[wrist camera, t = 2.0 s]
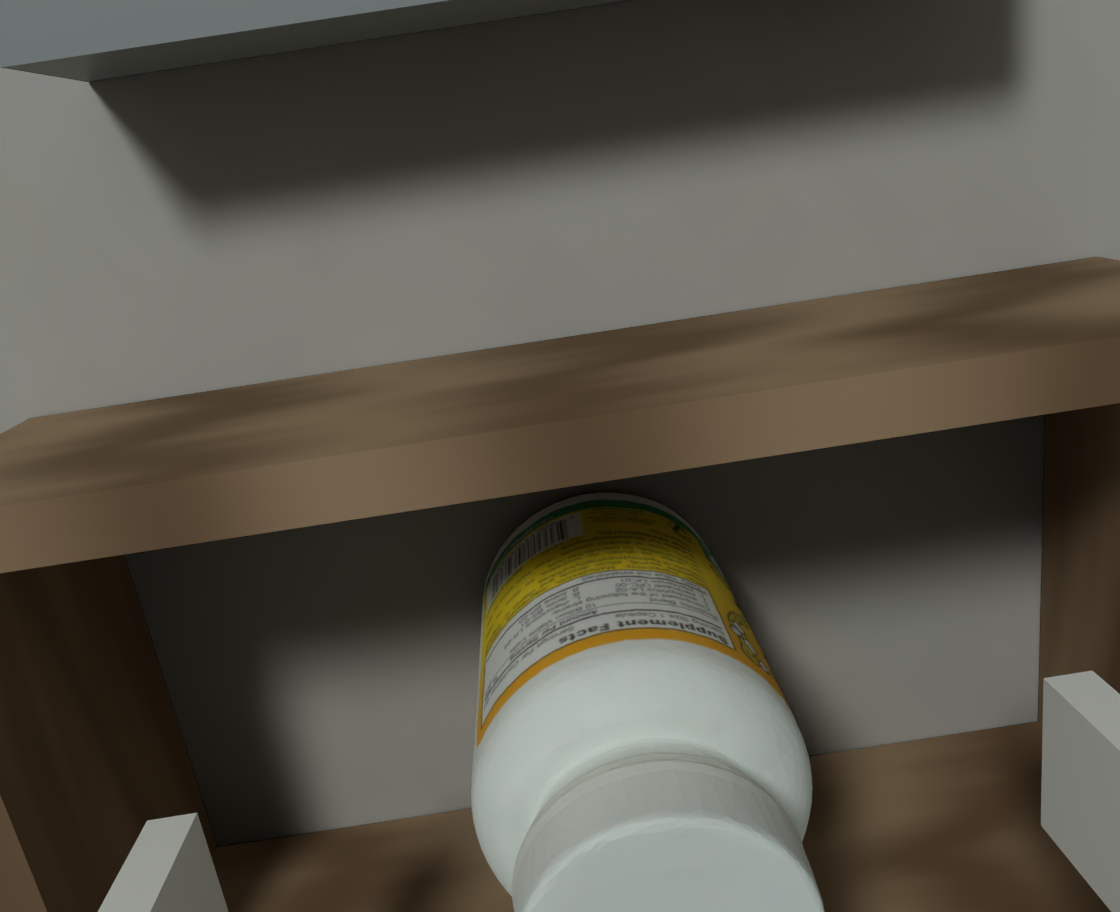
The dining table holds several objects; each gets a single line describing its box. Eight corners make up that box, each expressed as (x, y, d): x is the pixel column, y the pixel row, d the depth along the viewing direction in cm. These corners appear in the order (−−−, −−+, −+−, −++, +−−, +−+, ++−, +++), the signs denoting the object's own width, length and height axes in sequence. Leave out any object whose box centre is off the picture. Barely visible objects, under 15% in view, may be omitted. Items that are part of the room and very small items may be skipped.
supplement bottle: (497, 472, 20) (485, 747, 11) (741, 499, 20) (931, 783, 11) (470, 692, 21) (441, 1093, 12) (697, 712, 22) (831, 1113, 13)
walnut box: (1097, 256, 19) (1349, 301, 13) (1077, 749, 23) (1267, 950, 17) (29, 418, 19) (-179, 533, 13) (187, 886, 23) (78, 1133, 17)
